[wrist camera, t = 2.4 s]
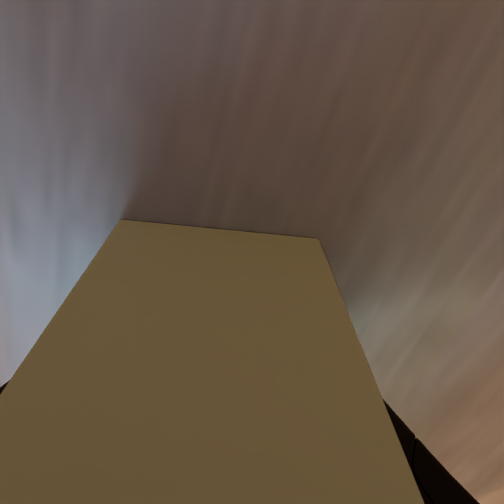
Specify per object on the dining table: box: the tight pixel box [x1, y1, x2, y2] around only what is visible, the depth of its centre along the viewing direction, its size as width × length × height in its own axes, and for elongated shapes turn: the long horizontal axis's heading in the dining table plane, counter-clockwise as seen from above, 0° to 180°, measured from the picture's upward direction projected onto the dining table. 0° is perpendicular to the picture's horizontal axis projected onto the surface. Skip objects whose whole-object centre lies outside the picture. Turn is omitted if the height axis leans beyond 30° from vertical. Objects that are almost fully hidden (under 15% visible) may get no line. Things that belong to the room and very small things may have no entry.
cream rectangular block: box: [0, 220, 424, 504], centre depth 7 cm, size 5×5×7 cm
